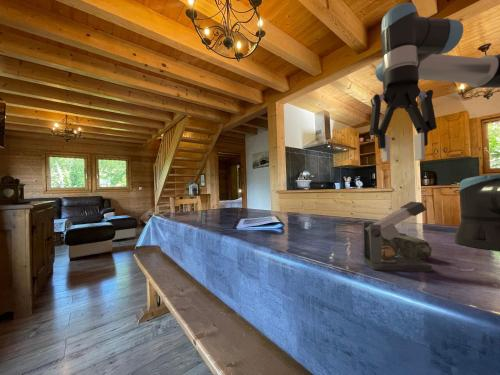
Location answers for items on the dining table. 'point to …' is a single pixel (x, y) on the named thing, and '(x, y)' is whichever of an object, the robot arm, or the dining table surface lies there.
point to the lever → (398, 219)
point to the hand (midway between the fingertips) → (402, 160)
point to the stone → (408, 246)
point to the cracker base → (377, 254)
